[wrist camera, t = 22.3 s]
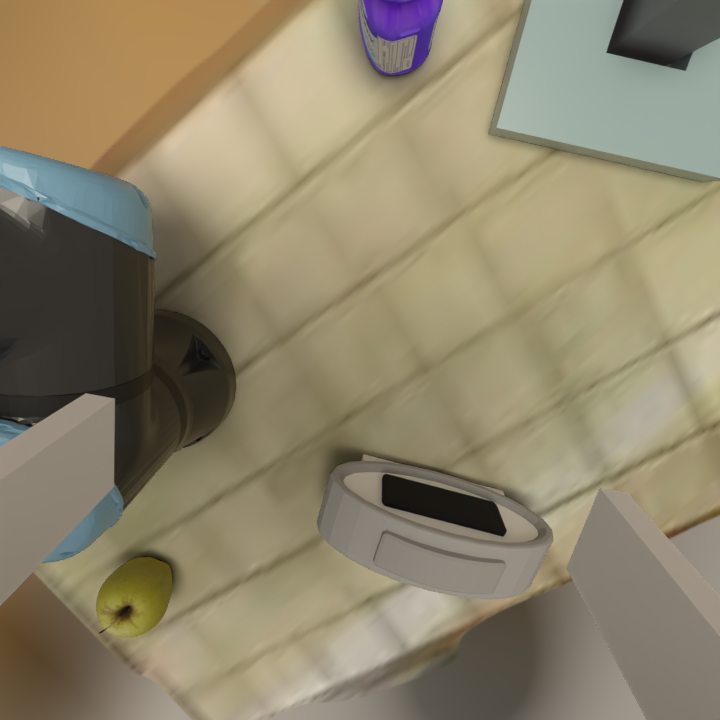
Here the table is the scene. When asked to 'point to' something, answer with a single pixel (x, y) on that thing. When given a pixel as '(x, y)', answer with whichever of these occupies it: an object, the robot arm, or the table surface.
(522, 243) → the table surface
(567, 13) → the socket plate
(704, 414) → the table surface
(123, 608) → the apple
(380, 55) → the bottle
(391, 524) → the alarm clock
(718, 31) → the plug
